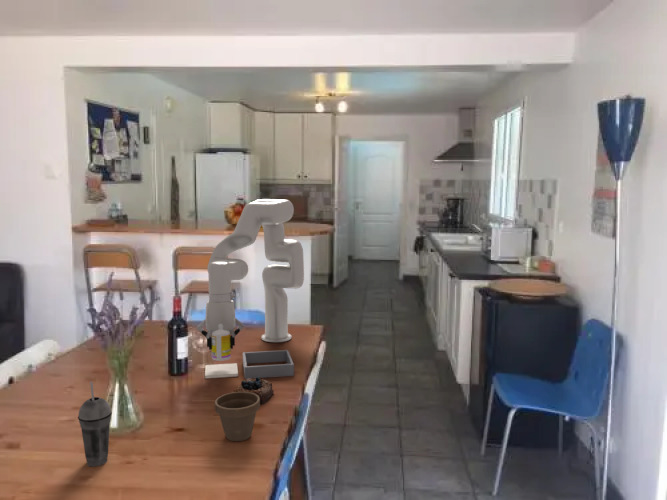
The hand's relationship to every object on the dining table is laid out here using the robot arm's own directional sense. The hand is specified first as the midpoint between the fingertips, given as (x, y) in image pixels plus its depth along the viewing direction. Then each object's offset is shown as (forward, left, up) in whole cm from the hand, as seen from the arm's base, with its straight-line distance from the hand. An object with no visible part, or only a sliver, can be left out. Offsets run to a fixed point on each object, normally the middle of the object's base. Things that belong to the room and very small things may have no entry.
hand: (221, 347), depth 192 cm
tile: (0, 0, -9) cm, 9 cm away
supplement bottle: (0, 0, -4) cm, 4 cm away
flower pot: (+51, +4, -9) cm, 52 cm away
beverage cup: (+58, -29, -9) cm, 65 cm away
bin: (0, +16, -9) cm, 18 cm away
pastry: (+25, +10, -9) cm, 28 cm away
